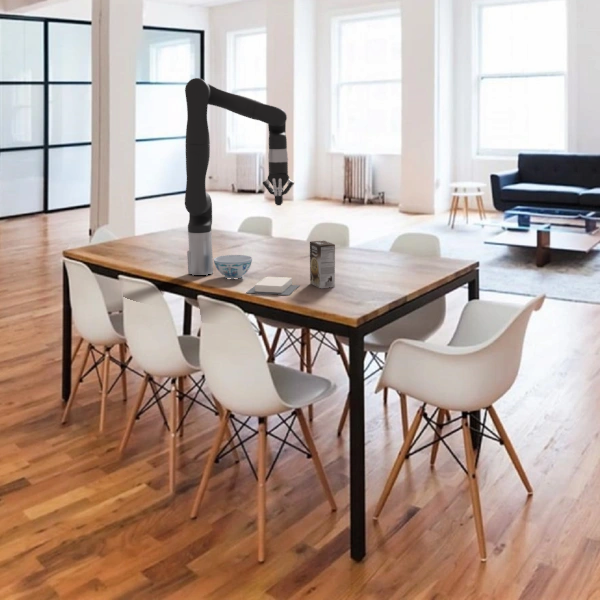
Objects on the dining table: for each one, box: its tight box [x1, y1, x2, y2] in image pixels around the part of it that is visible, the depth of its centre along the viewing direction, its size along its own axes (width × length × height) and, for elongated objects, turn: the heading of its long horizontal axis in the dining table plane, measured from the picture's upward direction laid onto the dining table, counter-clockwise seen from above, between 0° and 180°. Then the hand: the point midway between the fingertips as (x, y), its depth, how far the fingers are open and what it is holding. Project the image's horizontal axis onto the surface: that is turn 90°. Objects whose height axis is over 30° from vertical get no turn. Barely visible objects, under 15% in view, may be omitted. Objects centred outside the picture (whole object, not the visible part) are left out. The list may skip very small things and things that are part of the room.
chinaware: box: [213, 254, 253, 279], centre depth 283 cm, size 15×15×8 cm
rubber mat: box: [245, 284, 300, 296], centre depth 263 cm, size 16×15×1 cm
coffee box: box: [309, 240, 336, 289], centre depth 267 cm, size 9×6×16 cm
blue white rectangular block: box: [254, 276, 293, 293], centre depth 264 cm, size 10×3×14 cm
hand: (278, 205), depth 287 cm, fingers closed
